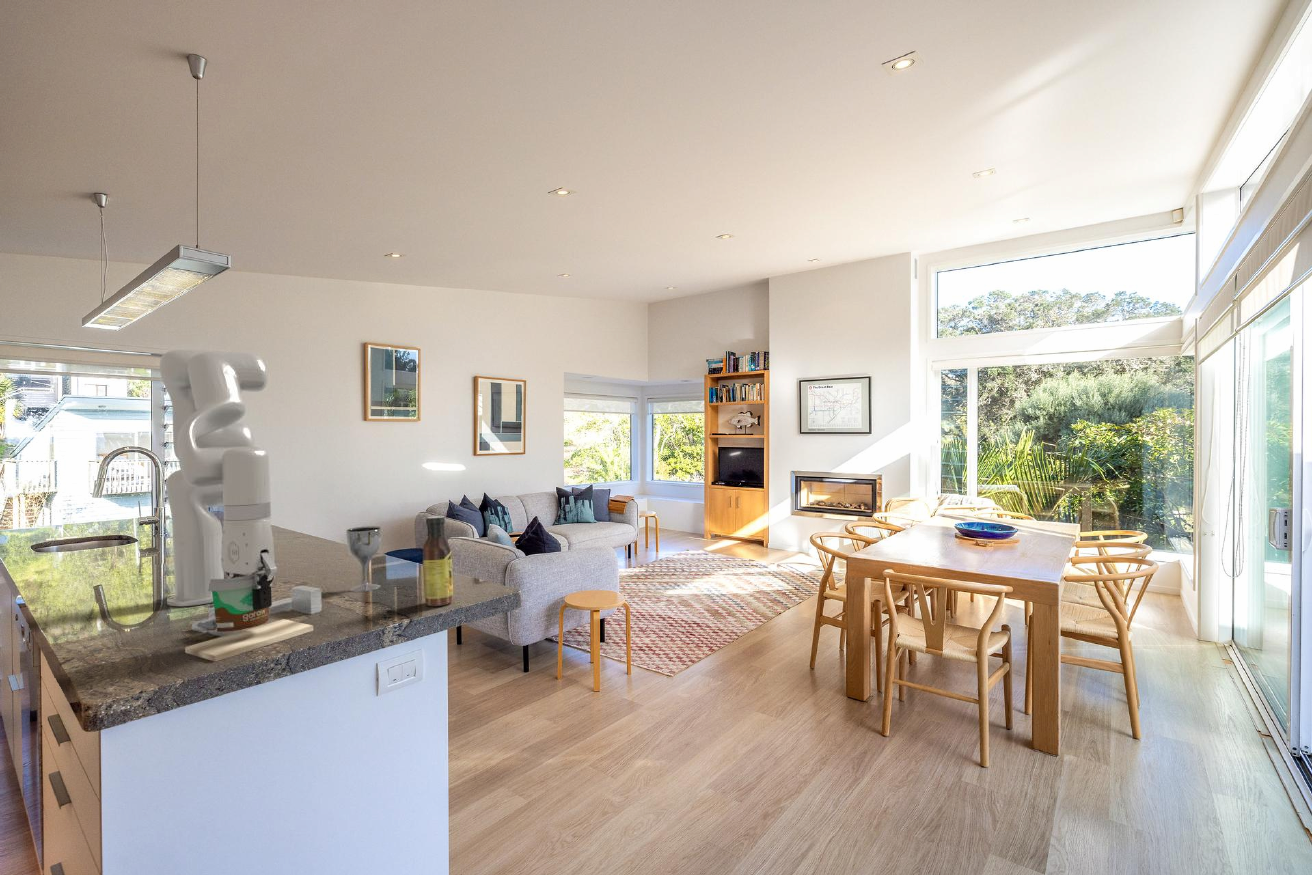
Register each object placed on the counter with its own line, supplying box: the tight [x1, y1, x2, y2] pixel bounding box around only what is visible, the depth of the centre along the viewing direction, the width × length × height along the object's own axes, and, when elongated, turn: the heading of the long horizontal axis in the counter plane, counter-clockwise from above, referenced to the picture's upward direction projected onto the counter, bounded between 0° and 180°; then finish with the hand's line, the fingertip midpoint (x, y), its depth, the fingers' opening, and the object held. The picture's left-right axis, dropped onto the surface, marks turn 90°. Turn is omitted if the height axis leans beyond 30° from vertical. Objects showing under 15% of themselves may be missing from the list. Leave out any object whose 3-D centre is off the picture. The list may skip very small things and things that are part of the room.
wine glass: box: [345, 525, 382, 593], centre depth 158 cm, size 8×8×15 cm
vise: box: [191, 585, 323, 637], centre depth 132 cm, size 12×22×5 cm, turn 152°
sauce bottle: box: [422, 515, 454, 607], centre depth 143 cm, size 6×6×20 cm
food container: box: [208, 570, 276, 632], centre depth 120 cm, size 12×6×10 cm, turn 168°
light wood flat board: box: [184, 618, 314, 663], centre depth 120 cm, size 10×18×1 cm, turn 152°
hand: (250, 605), depth 120 cm, fingers closed on food container, 6 cm apart
